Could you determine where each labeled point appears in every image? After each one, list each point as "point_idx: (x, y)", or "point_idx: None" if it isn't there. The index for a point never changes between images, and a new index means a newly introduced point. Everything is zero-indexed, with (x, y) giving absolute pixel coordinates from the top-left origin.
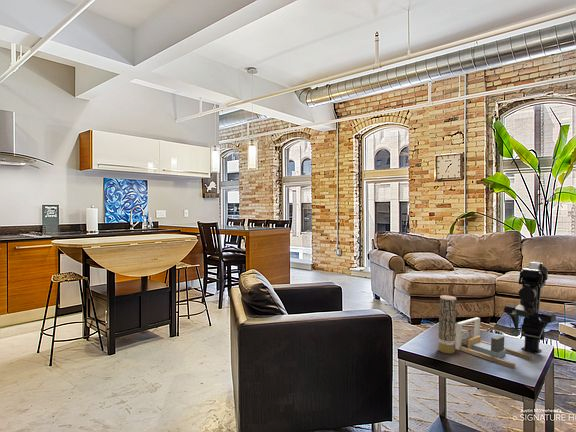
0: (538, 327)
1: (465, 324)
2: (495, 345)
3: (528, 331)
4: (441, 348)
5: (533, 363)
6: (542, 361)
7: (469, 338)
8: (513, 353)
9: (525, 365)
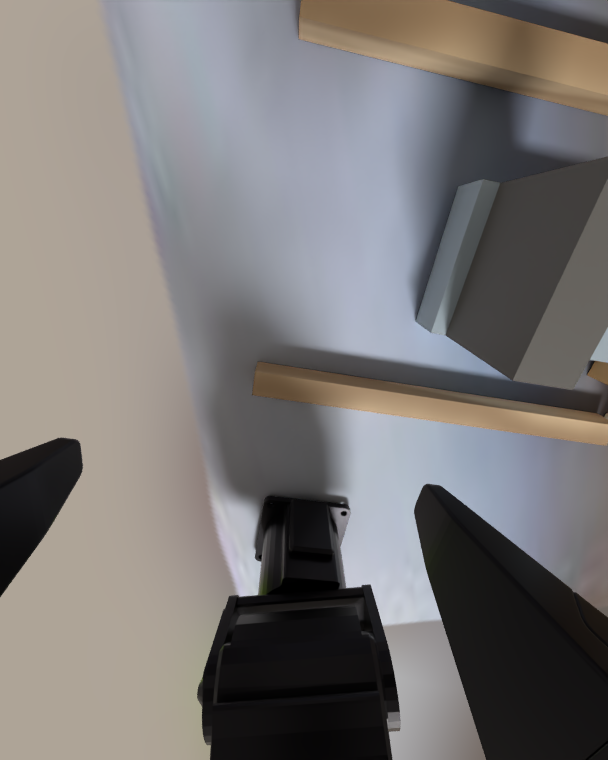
0: (223, 714)
1: None
2: (560, 172)
3: (318, 629)
4: None
5: (225, 304)
6: (199, 394)
7: None
8: (373, 382)
9: (253, 200)
